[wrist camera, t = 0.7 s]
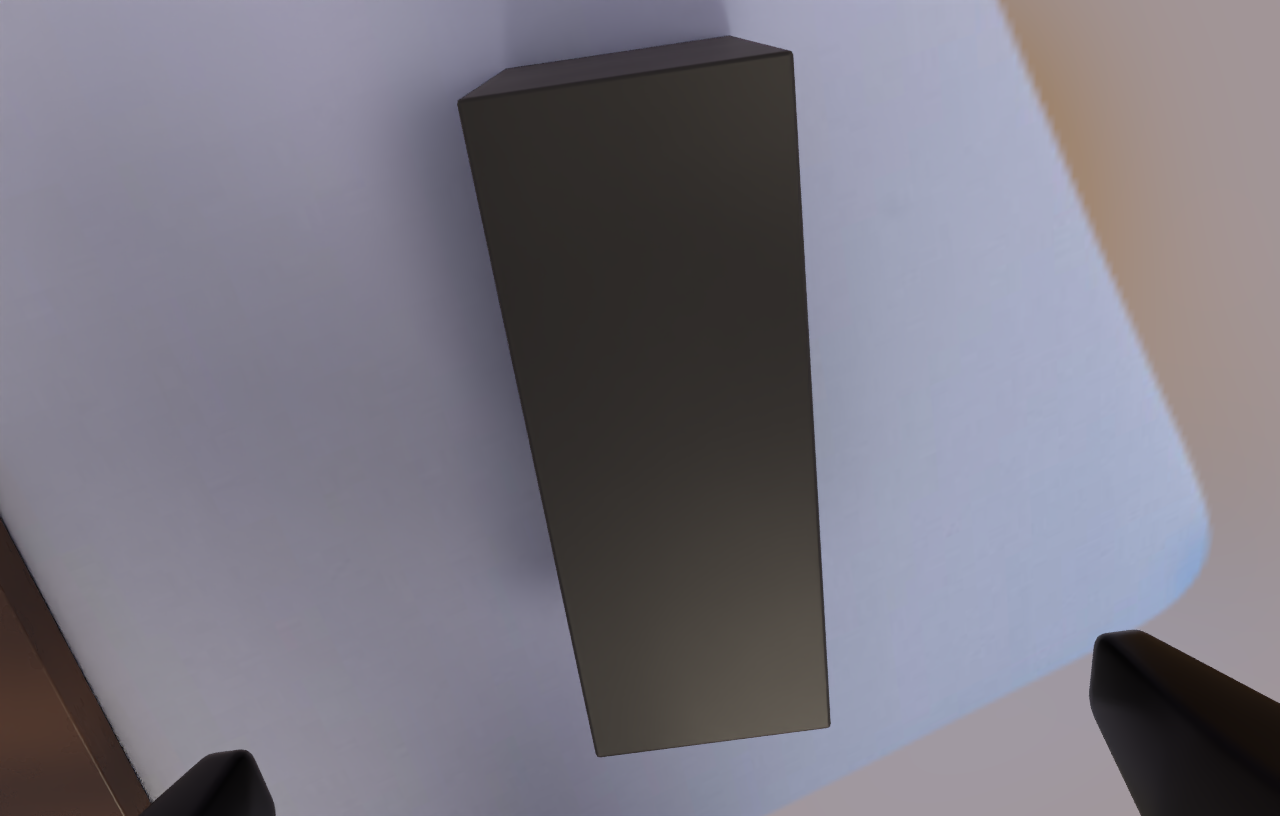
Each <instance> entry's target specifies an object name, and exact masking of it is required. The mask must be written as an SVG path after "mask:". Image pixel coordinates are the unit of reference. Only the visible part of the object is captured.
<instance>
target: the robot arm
mask: <svg viewBox="0 0 1280 816" xmlns="http://www.w3.org/2000/svg"><path fill="white" fill-rule="evenodd" d="M1089 699H1090V705H1091V709H1092V712H1093V715H1094V718H1095V720H1096V722H1097V724H1098V726H1099V728H1100V730H1101V733H1102V735H1103V737H1104V739H1105V741H1106V743H1107V745H1108V747H1109V749H1110V751H1111V754H1112V756H1113V758H1114V760H1115V762H1116V764H1117V766H1118V768H1119V770H1120V773H1121V774H1122V777H1123V779H1124V781H1125V783H1126V785H1127V787H1128V789H1129V791H1130V793H1131V796H1132V798H1133V800H1134V802H1135V804H1136V806H1137V808H1138V810H1139V812H1140V815H1141V816H1280V703H1278V702H1276V701H1274V700H1272V699H1270V698H1268V697H1267V696H1265V695H1263V694H1261V693H1259V692H1257V691H1255V690H1253V689H1251V688H1249V687H1248V686H1246V685H1244V684H1242V683H1240V682H1238V681H1236V680H1234V679H1233V678H1230V677H1229V676H1227V675H1225V674H1223V673H1221V672H1219V671H1217V670H1216V669H1214V668H1212V667H1210V666H1208V665H1206V664H1204V663H1202V662H1200V661H1199V660H1196V659H1195V658H1193V657H1191V656H1189V655H1187V654H1185V653H1183V652H1181V651H1180V650H1178V649H1176V648H1174V647H1172V646H1170V645H1168V644H1166V643H1165V642H1163V641H1161V640H1159V639H1157V638H1155V637H1153V636H1151V635H1149V634H1148V633H1145V632H1143V631H1140V630H1126V631H1118V632H1111V633H1104V634H1102V635H1100V636H1098V637H1097V639H1096V641H1095V644H1094V650H1093V659H1092V669H1091V679H1090V689H1089ZM138 816H276V814H275V806H274V802H273V799H272V797H271V794H270V792H269V790H268V788H267V785H266V783H265V781H264V779H263V776H262V774H261V772H260V770H259V768H258V765H257V763H256V761H255V759H254V757H253V755H252V754H251V753H250V752H248V751H247V750H242V749H241V750H232V751H225V752H218V753H213V754H209V755H207V756H205V757H204V758H203V759H201V760H200V761H199V762H198V763H197V764H196V765H194V766H193V767H192V768H191V769H190V770H189V771H188V772H187V773H185V774H184V775H183V776H182V777H181V778H180V779H179V780H178V781H176V782H175V783H174V784H173V785H172V786H171V787H170V788H169V789H167V790H166V791H165V792H164V793H163V794H162V795H161V796H160V797H158V798H157V799H156V800H155V801H154V802H153V803H152V804H151V805H149V806H148V807H147V808H146V809H145V810H144V811H143V812H142V813H140V814H139V815H138Z"/></svg>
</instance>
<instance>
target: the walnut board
mask: <svg viewBox="0 0 1280 816" xmlns="http://www.w3.org/2000/svg"><path fill="white" fill-rule="evenodd" d="M149 805H151V803H150V801H149V799H148V797H147V795H146V793H145V791H144V790H143V788H142V786H141V784H140V782H139V780H138V778H137V776H136V774H135V773H134V771H133V769H132V767H131V765H130V763H129V761H128V759H127V757H126V755H125V754H124V752H123V750H122V748H121V746H120V744H119V742H118V740H117V738H116V737H115V735H114V733H113V731H112V729H111V727H110V725H109V723H108V721H107V719H106V718H105V716H104V714H103V712H102V710H101V708H100V706H99V704H98V702H97V700H96V699H95V697H94V695H93V693H92V691H91V689H90V687H89V685H88V683H87V682H86V680H85V678H84V676H83V674H82V672H81V670H80V668H79V666H78V664H77V663H76V661H75V659H74V657H73V655H72V653H71V651H70V649H69V647H68V646H67V644H66V642H65V640H64V638H63V636H62V634H61V632H60V630H59V628H58V627H57V625H56V623H55V621H54V619H53V617H52V615H51V613H50V611H49V609H48V608H47V606H46V604H45V602H44V600H43V598H42V596H41V594H40V592H39V591H38V589H37V587H36V585H35V583H34V581H33V579H32V577H31V575H30V573H29V572H28V570H27V568H26V566H25V564H24V562H23V560H22V558H21V556H20V555H19V553H18V551H17V549H16V547H15V545H14V543H13V541H12V539H11V537H10V536H9V534H8V532H7V530H6V528H5V526H4V524H3V522H2V520H1V518H0V816H138V815H139V814H140V813H142V812H143V811H144V810H145V809H146V808H147V807H148V806H149Z"/></svg>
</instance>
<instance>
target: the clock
mask: <svg viewBox="0 0 1280 816" xmlns="http://www.w3.org/2000/svg"><path fill="white" fill-rule="evenodd" d="M457 106H458V111H459V116H460V120H461V125H462V130H463V134H464V139H465V144H466V149H467V153H468V158H469V163H470V167H471V172H472V177H473V181H474V186H475V191H476V195H477V200H478V205H479V209H480V214H481V219H482V223H483V228H484V233H485V238H486V242H487V247H488V252H489V256H490V261H491V266H492V270H493V275H494V280H495V284H496V289H497V294H498V298H499V303H500V308H501V312H502V317H503V322H504V327H505V331H506V336H507V341H508V345H509V350H510V355H511V359H512V364H513V369H514V373H515V378H516V383H517V387H518V392H519V397H520V401H521V406H522V411H523V416H524V420H525V425H526V430H527V434H528V439H529V444H530V448H531V453H532V458H533V462H534V467H535V472H536V476H537V481H538V486H539V490H540V495H541V500H542V505H543V509H544V514H545V519H546V523H547V528H548V533H549V537H550V542H551V547H552V551H553V556H554V561H555V565H556V570H557V575H558V579H559V584H560V589H561V594H562V598H563V603H564V608H565V612H566V617H567V622H568V626H569V631H570V636H571V640H572V645H573V650H574V654H575V659H576V664H577V668H578V673H579V678H580V683H581V687H582V692H583V697H584V701H585V706H586V711H587V715H588V720H589V725H590V729H591V734H592V739H593V743H594V748H595V753H596V755H597V757H606V756H614V755H622V754H629V753H637V752H645V751H652V750H660V749H668V748H676V747H683V746H691V745H699V744H707V743H714V742H722V741H730V740H737V739H745V738H753V737H761V736H768V735H776V734H784V733H791V732H799V731H807V730H815V729H822V728H828V727H830V724H831V722H830V704H829V686H828V668H827V650H826V632H825V615H824V597H823V579H822V561H821V543H820V525H819V507H818V489H817V471H816V453H815V435H814V417H813V400H812V382H811V364H810V346H809V328H808V310H807V292H806V274H805V256H804V238H803V220H802V203H801V185H800V167H799V149H798V131H797V113H796V95H795V77H794V59H793V54H792V51H789V50H785V49H781V48H777V47H773V46H769V45H765V44H761V43H757V42H753V41H749V40H745V39H741V38H737V37H733V36H723V37H717V38H710V39H703V40H696V41H690V42H683V43H676V44H669V45H663V46H656V47H649V48H642V49H636V50H629V51H622V52H615V53H609V54H602V55H595V56H588V57H582V58H575V59H568V60H561V61H555V62H548V63H541V64H534V65H528V66H521V67H514V68H507V69H505V70H503V71H502V72H500V73H499V74H497V75H496V76H494V77H493V78H491V79H490V80H488V81H487V82H485V83H484V84H482V85H481V86H479V87H478V88H476V89H475V90H473V91H472V92H470V93H469V94H467V95H466V96H464V97H462V98H461V99H459V100H458V103H457Z"/></svg>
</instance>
